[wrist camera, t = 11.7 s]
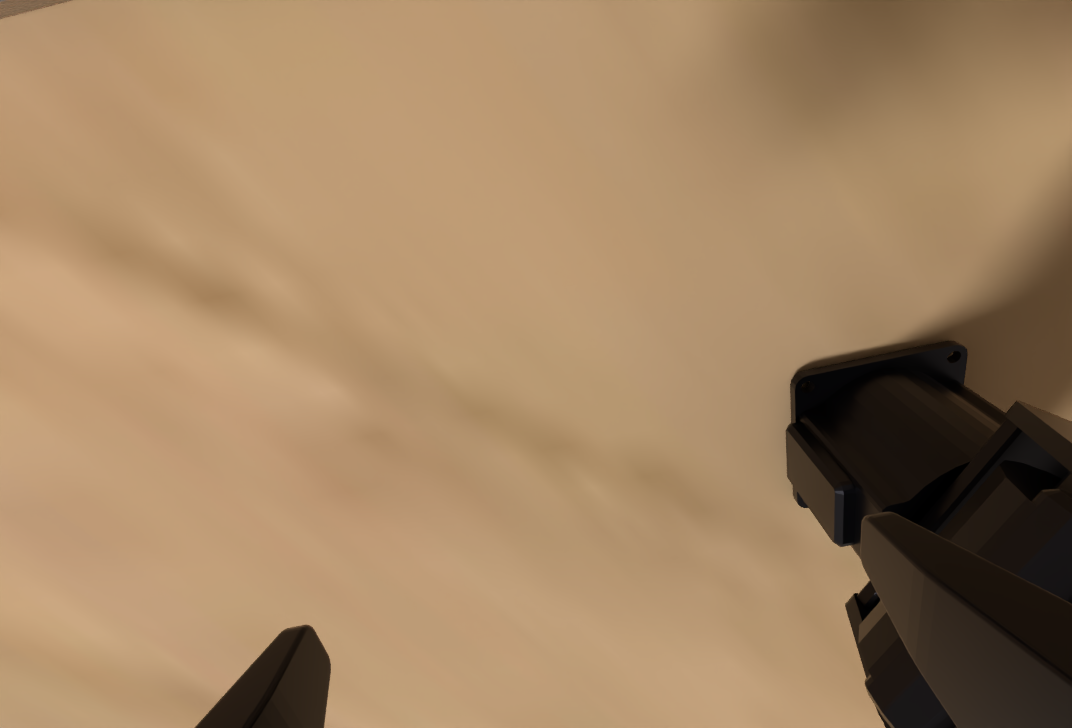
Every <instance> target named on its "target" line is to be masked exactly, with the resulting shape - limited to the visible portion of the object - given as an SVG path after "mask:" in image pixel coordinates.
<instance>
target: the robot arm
mask: <svg viewBox="0 0 1072 728" xmlns="http://www.w3.org/2000/svg"><path fill="white" fill-rule="evenodd" d="M953 351H954V352H953ZM951 352H953V354H952V355H951V356H950V357H949V358H947V357H948V355H949V354H950V353H951ZM966 362H967V349H966V348H965V347H964V346H962V345H961V344H959V343H957V342H955V341H946V342H941V343H936V344H931V345H926V346H921V347H917V348H912V349H907V350H902V351H897V352H893V353H888V354H883V355H878V356H873V357H869V358H864V359H859V360H854V361H849V362H844V363H840V364H835V365H830V366H825V367H820V368H816V369H811V370H806V371H802V372H799V373H797V374H796V375H795V376H794V377H793V378H792V380H791V384H790V393H791V424H789V425H788V427H787V429H786V453H787V477H788V479H789V480H790V482H791V483H792V485H793V496H794V499H795V500H796V502H797V503H798V505H799V506H801V507H803V508H809V509H810V510H811V512H812V513H813V514H814V516H815V517H816V519H817V520H818V522H819V523H820V524H821V526H822V527H823V529H824V530H825V532H826V533H827V534H828V536H829V537H830V539H831V540H832V541H833V542H834V543H835V544H837V545H838V546H840V547H843V546H849V545H851V547H852V548H853V549H854V551H855V552H856V553H857V555H858V556H859V557H860V559H861V561H862V564H863V567H864V569H865V571H866V573H867V575H868V577H869V579H870V581H869V582H868V583H867V584H866V586H865V587H864V588H863V589H862V590H861V591H860V593H859V594H858V593H855V594H854V595H853V596H852V597H851V598H850V599H849V601H848V602H847V603H846V604H845V607H846V610H847V614H848V617H849V620H850V624H851V627H852V631H853V634H854V637H855V641H856V644H857V648H858V651H859V654H860V658H861V661H862V664H863V668H864V671H865V675H866V680H865V686H866V689H867V692H868V695H869V696H870V698H871V699H872V701H873V703H874V704H875V706H876V709H877V711H878V714H879V716H880V717H881V719H882V721H883V722H884V725H885V727H886V728H1072V421H1069V420H1066V419H1064V418H1061V417H1059V416H1056V415H1054V414H1051V413H1048V412H1046V411H1043V410H1041V409H1038V408H1036V407H1033V406H1031V405H1028V404H1025V403H1023V402H1020V401H1016V402H1015V403H1014V404H1013V406H1012V407H1011V408H1010V409H1009V410H1008V411H1007V413H1004V412H1003V411H1001V410H1000V409H998V408H997V407H996V406H994V405H993V404H991V403H990V402H988V401H987V400H985V399H984V398H982V397H981V396H979V395H978V394H976V393H975V392H973V391H972V390H970V389H969V388H967V387H966V386H964V378H965V370H966ZM807 381H810V382H809V385H808V386H807V387H805V388H801V387H802V385H803V384H804V383H805V382H807ZM330 673H331V664H330V659H329V656H328V654H327V652H326V650H325V648H324V646H323V645H322V643H321V641H320V639H319V637H318V636H317V634H316V632H315V630H314V629H313V627H311V626H310V625H302V626H296V627H291V628H287V629H285V630H283V631H282V632H281V633H280V634H279V635H278V636H277V637H276V638H275V639H274V641H273V642H272V643H271V644H270V645H269V646H268V647H267V648H266V649H265V651H264V652H263V653H262V654H261V655H260V656H259V657H258V658H257V659H256V660H255V662H254V663H253V664H252V665H251V666H250V667H249V668H248V669H247V670H246V672H245V673H244V674H243V675H242V676H241V677H240V678H239V679H238V680H237V681H236V683H235V684H234V685H233V686H232V687H231V688H230V689H229V690H228V691H227V693H226V694H225V695H224V696H223V697H222V698H221V699H220V700H219V701H218V702H217V704H216V705H215V706H214V707H213V708H212V709H211V710H210V711H209V712H208V714H207V715H206V716H205V717H204V718H203V719H202V720H201V721H200V722H199V723H198V725H197V726H196V727H195V728H324V723H325V714H326V706H327V698H328V690H329V681H330Z"/></svg>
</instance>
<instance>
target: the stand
mask: <svg viewBox="0 0 1072 728" xmlns="http://www.w3.org/2000/svg"><path fill="white" fill-rule="evenodd" d="M67 1H71V0H0V19H2V18H5V17H9V16H13V15H17V14H21V13H25V12H29V11H32V10H36V9H40V8H44V7H48V6H52V5H56V4H59V3H63V2H67Z"/></svg>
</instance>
